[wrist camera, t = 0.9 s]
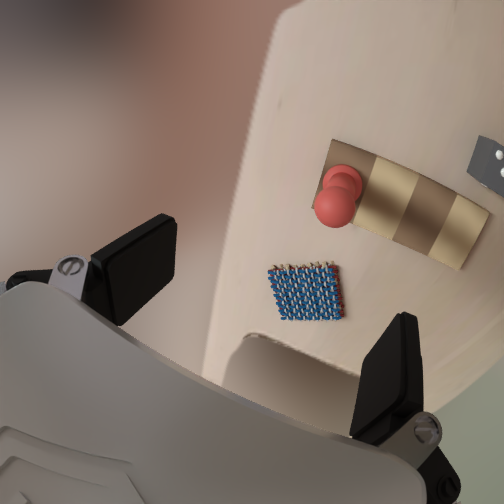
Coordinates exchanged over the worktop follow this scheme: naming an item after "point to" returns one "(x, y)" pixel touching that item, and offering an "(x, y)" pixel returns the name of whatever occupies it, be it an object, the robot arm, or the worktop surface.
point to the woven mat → (307, 292)
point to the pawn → (338, 196)
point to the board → (409, 206)
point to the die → (488, 164)
